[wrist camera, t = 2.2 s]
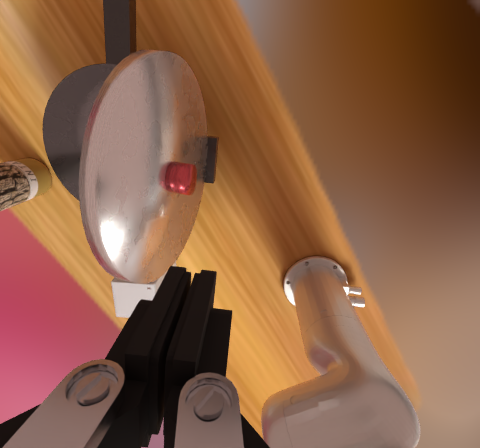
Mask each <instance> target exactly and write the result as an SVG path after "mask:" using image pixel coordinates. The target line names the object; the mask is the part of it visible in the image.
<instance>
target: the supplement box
mask: <svg viewBox="0 0 480 448" xmlns="http://www.w3.org/2000/svg"><path fill="white" fill-rule="evenodd" d="M172 266H176V261H175V263H174V264H173V265H172ZM166 273H167V272H166ZM166 273H165V274H164V275H163V276H161V277H160V278H159V279H157V280H155V281H153V282H151V283H146V284H137V283H133V282H129V281H125V280H121V279H118V278H116V277H115V278H114V279H113V280H112V281H111V284H112V291H113V298H114V305H115V312H116V317H127V318H129V317H130V316H131V314H132V312H133V311H134V309H135V307H136V305H137V304H138V302H139V301H140V300H141V299H144V300H153V298H154V296H155V294H156V292H157V290H158V288H159V286H160V284H161V283H162V281H163V279H164V277H165V275H166Z"/></svg>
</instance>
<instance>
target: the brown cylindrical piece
mask: <svg viewBox="0 0 480 448" xmlns="http://www.w3.org/2000/svg"><path fill="white" fill-rule="evenodd" d="M51 184H52V177H51V174H50V172H49V170H48V169H47V167H46V166H45V165H44V164H42V163H41V162H39V161H38V160H35V159H32V158H23V159H19V160H14V161H8V162H4V163H0V211H2V210H5V209H7V208H10V207H12V206H15V205H17V204H20V203H22V202H25V201H27V200H30V199H32V198H34V197H37V196H39V195H42V194H44V193H46V192H47V191H48V190H49V189H50V187H51Z"/></svg>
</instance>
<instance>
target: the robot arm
mask: <svg viewBox="0 0 480 448" xmlns="http://www.w3.org/2000/svg"><path fill="white" fill-rule="evenodd" d="M334 265H335V266H334ZM216 273H217V272H216V271H208V270H201V273H195V275H194V278H193V281H192V283H191V272H186V268H184V267H176V266H170V267H169V269H168V271H167V273H166V275H165V277H164V279H163V281H162V283H161V284H160V286H159V288H158V290H157V292H156V294H155V296H154V298H153V300H144V299H141V300H140V301H139V302H138V304H137V305H136V307H135V309H134V311H133V312H132V314H131V316H130V317H129V319H128V321H127V322H126V324H125V326H124V327H123V329H122V331H121V333H120V334H119V336H118V338H117V339H116V341H115V343H114V344H113V346H112V348H111V349H110V351H109V353H108V355H107V357H106V358H105V359H100V360H92V361H90V362H87V363H84V364H82V365H80V366H78V367H77V368H75V369H73V370H72V371H71V372H70V373H69V374H68V375H67V376H66V377H65V378H64V379H63V380H62V381H61V382H60V383H59V385H58V386H57V387H56V388H55V389H54V390H53V391H52V392H51V394H50V395H49V396H48V397H47V398H46V399H45V400H44V401H43V403H42V404H40V405H38V406H36V407H34V408H32V409H30V410H28V411H26V412H24V413H22V414H20V415H18V416H16V417H14V418H12V419H10V420H8V421H6V422H4V423H2V424H0V448H141V447H148V445H149V442H150V438H151V435H152V434H158V433H159V431H160V427H161V424H162V421H163V417H164V430H163V435H164V448H415V447H416V446H417V444H418V441H419V438H420V424H419V420H418V417H417V414H416V412H415V410H414V407H413V405H412V403H411V402H410V400H409V398H408V397H407V395H406V393H405V392H404V390H403V389H402V388H401V386H400V385H399V383H398V382H397V381H396V379H395V378H394V377H393V375H392V374H391V373H390V371H389V370H388V368H387V367H386V366H385V364H384V363H383V361H382V360H381V358H380V357H379V355H378V353H377V351H376V350H375V348H374V346H373V344H372V342H371V341H370V339H369V337H368V335H367V333H366V331H365V329H364V327H363V325H362V323H361V321H360V319H359V317H358V315H357V313H356V311H355V309H354V307H353V306H355V307H364V304H365V300H364V298H363V297H355V296H354V297H352V296H348V294H349V293H353V294H359V295H360V294H361V292H362V290H361V288H360V287H350V286H349V285H347V284H348V282H347V276H346V273H345V272H344V270H343V268H342V267H341V266H340V265H339V264H338V263H337V262H336V261H334V260H332V259H330V258H327V257H322V256H312V257H307V258H304V259H301V260H299V261H298V262H296V263H295V264H294V265H292V266H291V267H290V269H289V270H288V271H287V273H286V275H285V278H284V292H285V295H286V297H287V299H288V300H289V301H290V302H291V303H292V304H293V305H294V306H296V311H297V316H298V320H299V325H300V330H301V335H302V339H303V344H304V349H305V353H306V356H307V358H308V360H309V362H310V363H311V365H312V366H313V367H314V369H315V370H316V371H317V372H318V373H319V374H321V376H319V377H316V378H315V379H312V380H309V381H306V382H304V383H301V384H298V385H295V386H292V387H290V388H287V389H284V390H282V391H279V392H277V393H275V394H273V395H271V396H270V397H269V398H268V399H267V400H266V402H265V403H264V405H263V408H262V416H261V423H262V433H263V439H264V440H263V439H262V438H261V436H260V435H259V434H258V433H257V432H256V431H255V429H254V428H253V427H252V426H251V425H250V424H249V422H248V421H247V420H246V419H245V418H244V417H243V415H242V414H241V413H240V406H239V397H238V393H237V390H236V388H235V386H234V385H233V383H232V382H231V381H230V380H228V379H227V378H226V368H227V358H228V348H229V339H230V329H231V319H232V310H224V309H216V308H213V303H214V293H215V284H216Z"/></svg>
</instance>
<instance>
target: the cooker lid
mask: <svg viewBox="0 0 480 448" xmlns="http://www.w3.org/2000/svg"><path fill="white" fill-rule="evenodd" d="M207 142H208V140H207V121H206V113H205V107H204V102H203V97H202V93H201V90H200V87H199V84H198V81H197V79H196V77H195V75H194V73H193V71H192V69H191V68H190V66H189V65H188V63H187V62H186V61H185V60H184V59H183V58H182V57H180V56H179V55H177V54H175V53H172V52H169V51H160V50H140V51H137V52H134V53H132V54H130V55H129V56H127V57H126V58H124V59H123V60H122V61H121V62H120V63H119V64H118V65H117V66H116V67H115V68H114V69H113V70H112V72H111V73H110V74H109V76H108V77H107V79H106V80H105V82H104V83H103V85H102V87H101V89H100V91H99V93H98V95H97V97H96V99H95V102H94V105H93V107H92V110H91V113H90V115H89V118H88V122H87V126H86V130H85V134H84V138H83V144H82V151H81V158H80V170H79V198H80V209H81V216H82V222H83V226H84V230H85V234H86V237H87V241H88V243H89V245H90V248H91V250H92V252H93V254H94V256H95V258H96V259H97V261H98V262H99V264H100V265H101V266H102V267H103V268H104V269H105V270H106V272H108V273H109V274H111V275H112V276H114V277H116V278H118V279H121V280H125V281H129V282H133V283H137V284H146V283H151V282H153V281H155V280H157V279H159V278H160V277H161V276H163V275H164V274H165V273H166V272H167V271H168V269H169V267H170V266H172V265H173V264H174V263H175V261H176V260H177V258H178V257H179V255H180V254H181V252H182V250H183V248H184V246H185V244H186V242H187V240H188V238H189V236H190V233H191V231H192V228H193V225H194V223H195V220H196V216H197V213H198V210H199V206H200V202H201V197H202V193H203V187H204V181H205V174H206V165H207Z"/></svg>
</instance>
